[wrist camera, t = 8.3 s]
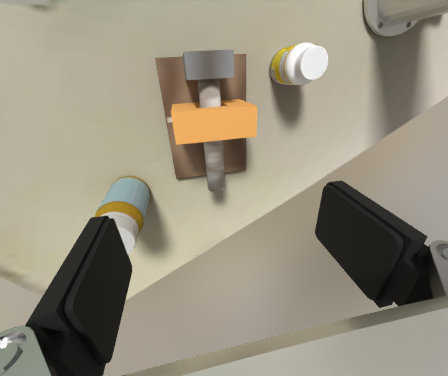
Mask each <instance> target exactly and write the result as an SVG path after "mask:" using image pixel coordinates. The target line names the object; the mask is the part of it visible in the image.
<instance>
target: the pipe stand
mask: <svg viewBox="0 0 448 376" xmlns="http://www.w3.org/2000/svg"><path fill="white" fill-rule="evenodd" d="M155 59H156V65H157V71H158V76H159V82H160V88H161V94H162V99H163V105H164V111H165V117H166V122H167V128H168V134H169V140H170V145H171V151H172V157H173V163H174V169H175V174H176V179H177V178H185V177H193V176H201V175H207V182H208V189H209V190H210V191H213V192H219V191H222V190H224V189H225V174H224V173H225V172H233V171H241V170H246V138H238V139H228V140H218V141H209V142H199V143H189V144H179V145H176V141H175V135H174V129H173V122H172V116H171V110H172V104H182V103H195V102H200V108H207V107H219V106H221V100H235V99H240V100H243V101H245V102H246V54H236V55H234V50H214V51H190V52H184V53H183V56H182V57H168V58H155Z"/></svg>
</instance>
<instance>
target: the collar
mask: <svg viewBox="0 0 448 376" xmlns="http://www.w3.org/2000/svg"><path fill="white" fill-rule="evenodd" d="M171 116H172V122H173V129H174V135H175V141H176V145H179V144H189V143H199V142H209V141H218V140H228V139H238V138H247V137H256V128H257V106H256V105H253V104H251V103H248V102H245V101H243V100H240V99H235V100H221V106H219V107H207V108H200V102H195V103H182V104H172V110H171Z"/></svg>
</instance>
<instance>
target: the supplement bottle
mask: <svg viewBox="0 0 448 376" xmlns="http://www.w3.org/2000/svg"><path fill="white" fill-rule="evenodd" d="M327 65H328V55H327V52H326V50H325V49H324V48H322V47H320V46H315V45H313V44H311V43H301V44H297V45H294V46H290V47H286V48H283V49H281V50H279V51H277V52H276V53H275V54H274V56H273V57H272V59H271V62H270V66H269V71H270V75H271V77H272V79H273V80H274V81H275V82H276V83H279V84H286V85H305V84H308V83H309V82H311V81H312V80H316V79H318V78H319V77H321V76H322V75H323V73H324V72H325V70H326V68H327Z"/></svg>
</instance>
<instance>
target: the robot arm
mask: <svg viewBox="0 0 448 376" xmlns="http://www.w3.org/2000/svg"><path fill="white" fill-rule="evenodd" d="M364 13H365V18H366V21H367V23H368V26H369V27H370V28H371V30H372V31H373V32H374V33H376V34H377V35H380V36H384V37H389V36H395V35H399V34H402V33H404V32H405V31H407V30H409V29H410V28H411V27H413V26H414V25H415V24H416V23H417V22H418V21H419V20H420V19H424V18H428V17H433V16H437V15H441V14H446V13H448V0H364ZM315 234H316V237H317V238H318V240H319V241H320V242H321V243H322V244H323V245H324V247H325V248H326V249H327V250H328V251H329V253H330V254H331V255H332V256H333V257H334V259H336V261H337V262H338V263H339V264H340V266H341V267H342V268H343V269H344V270H345V272H346V273H347V274H348V275H349V276H350V277H351V279H352V280H353V281H354V282H355V283H356V285H357V286H358V287H359V288H360V289H361V290H362V291H363V293H364V294H365V295H366V296H367V297H368V298H369V299H371V300H373V301H374V302H375V303H376V304H377V306H378V307H379V308H381V307H385V306H389V305H392V303H393V301H394V302H395V303H396V304H397V305H398V307H395V308H390V309H386V310H382V311H378V312H374V313H370V314H365V315H361V316H357V317H353V318H349V319H345V320H341V321H336V322H332V323H328V324H324V325H320V326H316V327H312V328H308V329H304V330H300V331H296V332H292V333H288V334H284V335H279V336H275V337H271V338H267V339H263V340H260V341H255V342H252V343H247V344H244V345H239V346H235V347H231V348H227V349H223V350H219V351H215V352H212V353H208V354H204V355H200V356H196V357H192V358H188V359H184V360H180V361H176V362H172V363H168V364H164V365H160V366H156V367H152V368H149V369H145V370H141V371H138V372H134V373H130V374H127V375H123V376H448V241H443V240H441V241H434V242H432V243H431V244H430V245H429V247H428V246H426V245H425V244H424V242H425V241H426V239H427V236H426V235H424V234H423V233H421V232H420V231H418V230H417V229H415V228H414V227H412V226H410V225H409V224H408V223H406V222H404V221H403V220H401V219H400V218H398V217H397V216H395V215H394V214H392V213H391V212H389V211H388V210H386V209H384V208H383V207H381V206H380V205H378V204H377V203H375V202H374V201H372V200H371V199H369V198H368V197H366V196H365V195H363V194H361V193H360V192H358V191H357V190H355V189H353V188H352V187H351V186H349V185H348V184H346V183H345V182H343V181H335V182H329V183H327V185H326V186H325V187H324V188H323V192H322V198H321V203H320V208H319V213H318V219H317V224H316V229H315ZM131 274H132V265H131V262H130V259H129V256H128V254H127V251H126V249H125V246H124V243H123V241H122V238H121V235H120V233H119V230H118V228H117V225H116V222H115V220H114V219H113V218H109V217H108V216H107V215H106V216H99V217H92V218H91V219H90V220H89V221H88V223H87V225H86V226H85V228H84V230H83V231H82V233H81V234H80V236H79V238H78V239H77V241H76V243H75V244H74V246H73V248H72V249H71V251H70V253H69V254H68V256H67V257H66V259H65V261H64V262H63V264H62V266H61V267H60V269H59V271H58V272H57V274H56V276H55V277H54V279H53V280H52V282H51V284H50V285H49V287H48V289H47V290H46V292H45V294H44V295H43V297H42V299H41V300H40V302H39V304H38V305H37V307H36V308H35V310H34V312H33V313H32V315H31V317H30V319H29V320H28V322H27V323H26V325H25V326H19V327H13V328H10V329H8V330H5V331H3V332H1V333H0V376H102V375H103V373H104V369H105V365H106V363H109V362H110V360H111V358H112V355H113V351H114V347H115V342H116V338H117V333H118V330H119V325H120V321H121V317H122V312H123V308H124V304H125V300H126V295H127V291H128V287H129V283H130V278H131Z"/></svg>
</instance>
